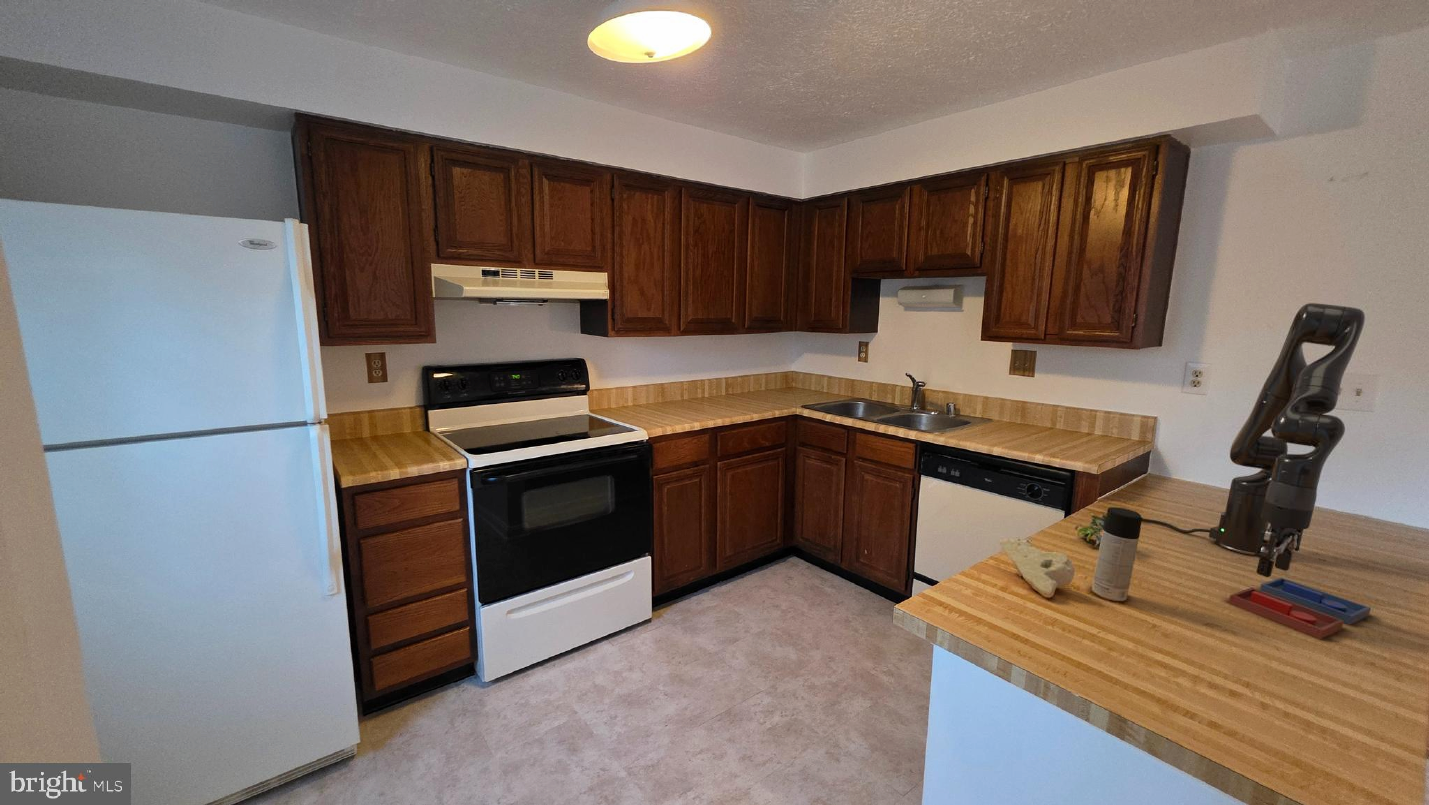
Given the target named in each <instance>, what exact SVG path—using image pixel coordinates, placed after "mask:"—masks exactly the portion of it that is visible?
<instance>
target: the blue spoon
mask: <svg viewBox="0 0 1429 805" xmlns="http://www.w3.org/2000/svg"><path fill="white" fill-rule="evenodd" d="M1282 591H1284V592H1287V593H1290V594H1293V595H1296V596H1299V597H1302V598H1304V599H1307V600H1310V601H1313V602H1316V603H1319V604H1321V605H1324V606H1327V607H1330V608H1333V609H1336V610H1338V611H1341V612H1344V613H1346V610H1347V606H1345V605H1343V604H1341V603H1339V602H1336V601H1332V600H1327V599H1323V597H1324V594H1323V593H1320V592H1317V591H1314V590H1311V589H1308V588H1305V587H1302V586H1299V585H1296V584H1293V583H1290V582H1287V581H1286V582H1284V583H1283V587H1282Z"/></svg>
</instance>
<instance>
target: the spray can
mask: <svg viewBox="0 0 1429 805" xmlns="http://www.w3.org/2000/svg"><path fill="white" fill-rule="evenodd" d="M1106 515H1107V516H1106V520H1105V523H1104V527H1103V530H1102V532H1101V536H1102V538H1101V543H1099V548H1098V554H1097V558H1096V564H1095V569H1094V575H1093V580H1092V586H1091V591H1092V592H1093V594H1094V595H1096V596H1098V597H1100V598H1103V599H1105V600H1109V601H1113V602H1124V601H1126V600H1127V598H1128V594H1129V589H1130V584H1131V579H1132V574H1133V569H1134V565H1135V560H1136V555H1137V550H1138V545H1139V540H1140V535H1141V528H1142V522H1143V521H1142V518H1143V517H1142V515H1141V514H1140V513H1139V512H1138V511H1135V510H1131V509H1129V508H1124V507H1116V506H1111V507H1108V508H1107V512H1106Z"/></svg>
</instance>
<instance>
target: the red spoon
mask: <svg viewBox="0 0 1429 805" xmlns="http://www.w3.org/2000/svg"><path fill="white" fill-rule="evenodd" d="M1250 602H1253V603H1255V604H1258V605H1261V606H1263V607H1266V608H1269V609H1271V610H1274V611H1276V612H1279V613H1282V614H1284V615H1287V616H1290V617H1292V618H1295V619H1298V620H1300V621H1303V622H1306V623H1308V624H1311V625H1315V623H1316V618H1315V617H1313V616H1311V615H1309V614H1306V613H1303V612H1300V611H1292V608H1293V605H1292V604H1289V603H1286V602H1284V601H1281V600H1278V599H1275V598H1273V597H1270V596H1267V595H1264V594H1262V593H1259V592H1256V591H1254V592H1252V593H1251V598H1250Z"/></svg>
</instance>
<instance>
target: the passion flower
mask: <svg viewBox="0 0 1429 805" xmlns="http://www.w3.org/2000/svg"><path fill="white" fill-rule="evenodd" d="M1090 516H1091V522H1090V523H1089V524H1088V525H1086V526H1082V524H1081V523H1078V524H1077V525H1076V526H1075V527H1074V529H1075V530H1077V535H1078V536H1081V535H1082V538H1083V539H1086V541H1087V542H1089V541H1090V539H1091V538H1092V537H1094V536H1095V544H1094V546H1092V549H1094V548H1096V547H1097V546H1098V545H1100V543H1101V538H1102V534H1101V533H1100V532H1101V531H1103V527H1104V523H1105V520H1106V516H1107V513H1104V514H1102V515H1099V516H1097V515H1095V514H1094V513H1092V512H1091V514H1090ZM1080 527H1081V528H1080ZM1078 528H1079V529H1078Z"/></svg>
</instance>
